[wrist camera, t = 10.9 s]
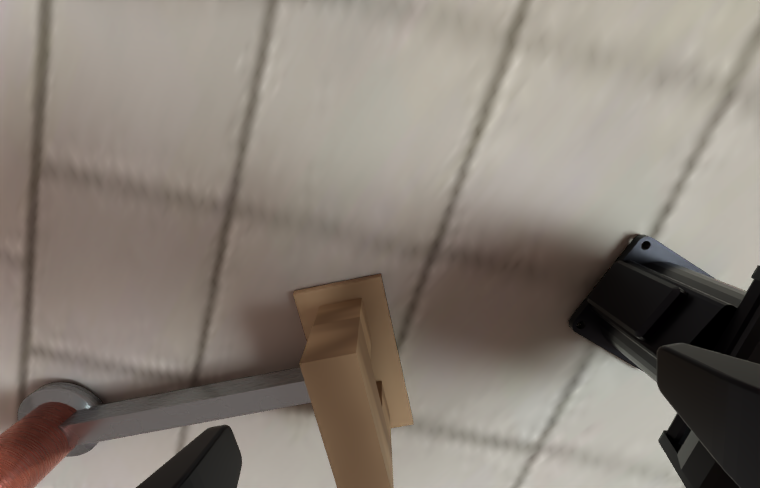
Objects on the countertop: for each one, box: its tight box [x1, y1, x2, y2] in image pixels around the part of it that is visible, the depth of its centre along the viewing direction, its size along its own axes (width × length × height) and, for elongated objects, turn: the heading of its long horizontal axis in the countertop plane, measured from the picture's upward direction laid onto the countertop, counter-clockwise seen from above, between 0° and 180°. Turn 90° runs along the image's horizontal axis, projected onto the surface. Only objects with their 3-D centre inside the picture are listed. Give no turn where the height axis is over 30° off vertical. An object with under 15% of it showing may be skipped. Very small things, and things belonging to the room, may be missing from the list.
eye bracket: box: [293, 274, 413, 488], centre depth 18 cm, size 5×10×6 cm, turn 12°
